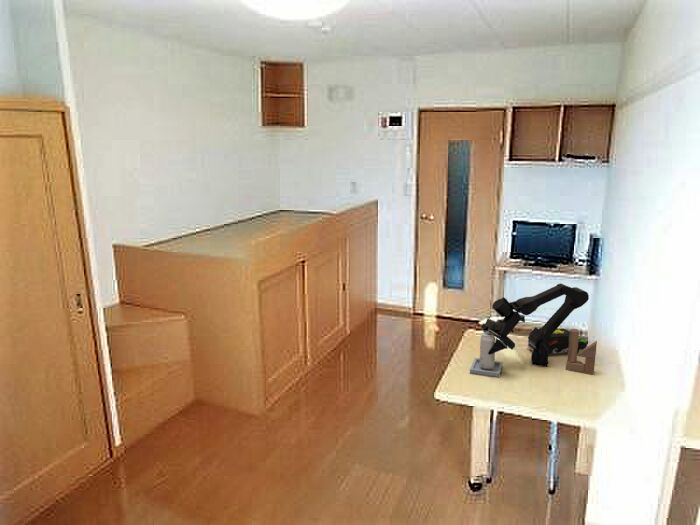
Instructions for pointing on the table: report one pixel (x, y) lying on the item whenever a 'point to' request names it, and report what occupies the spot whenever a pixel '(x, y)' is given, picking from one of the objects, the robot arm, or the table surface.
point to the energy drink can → (487, 350)
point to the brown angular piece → (586, 352)
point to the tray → (492, 372)
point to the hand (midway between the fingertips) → (484, 351)
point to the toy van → (562, 342)
